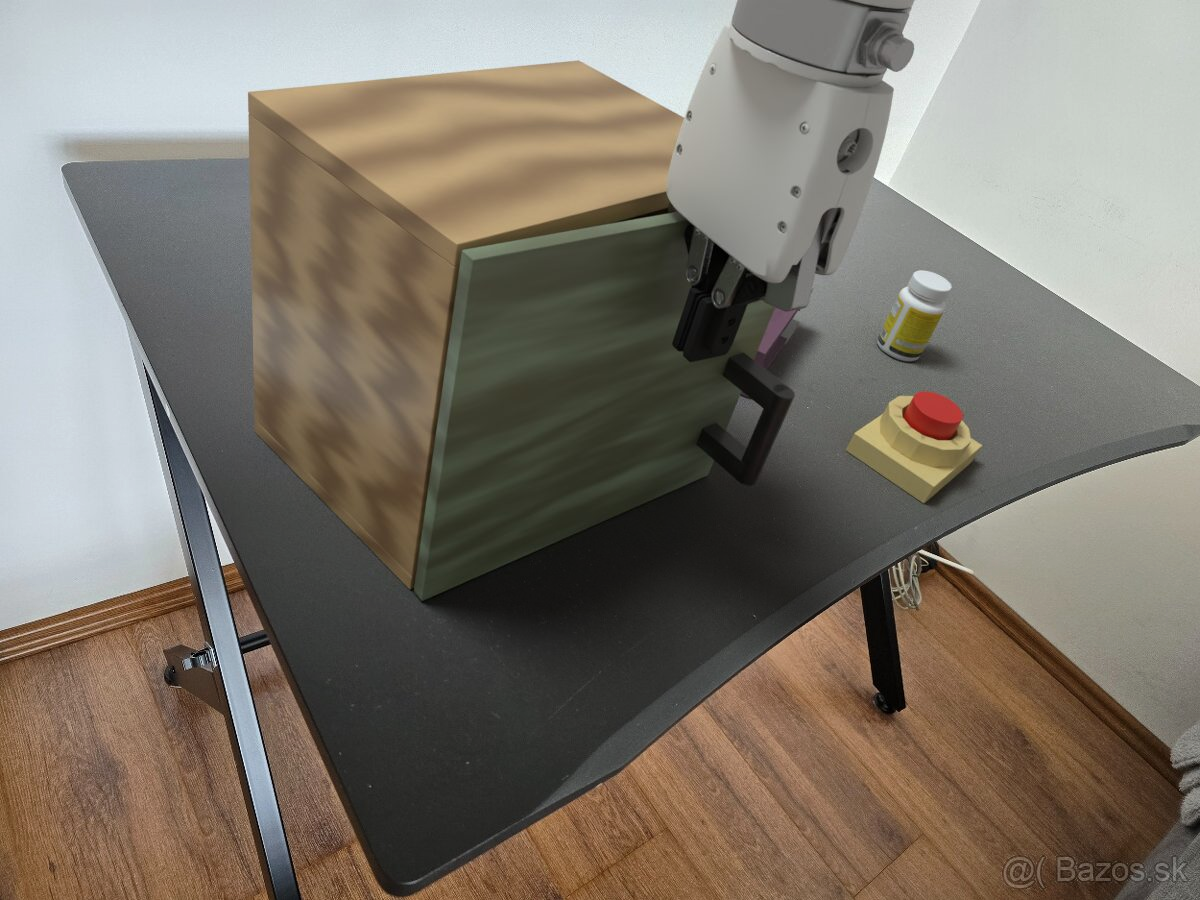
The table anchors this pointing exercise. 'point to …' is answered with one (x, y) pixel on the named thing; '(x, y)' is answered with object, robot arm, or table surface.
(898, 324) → the supplement bottle
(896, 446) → the button block
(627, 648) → the table surface
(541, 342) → the door
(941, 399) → the button
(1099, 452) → the table surface
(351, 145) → the cupboard
